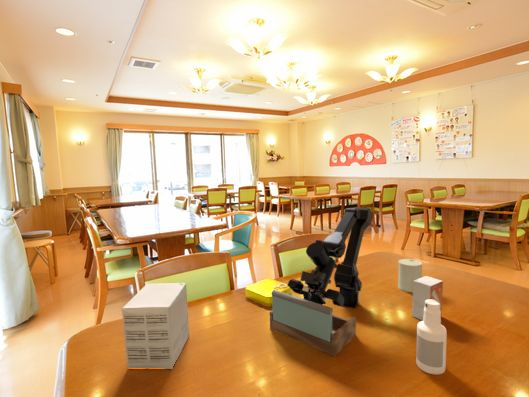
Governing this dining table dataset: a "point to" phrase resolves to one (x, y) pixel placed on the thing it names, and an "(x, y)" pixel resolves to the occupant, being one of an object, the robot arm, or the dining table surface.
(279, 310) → the panel
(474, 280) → the dining table surface
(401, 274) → the can
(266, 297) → the element tile
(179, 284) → the supplement box
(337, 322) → the open wooden crate
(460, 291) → the dining table surface
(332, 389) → the dining table surface
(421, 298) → the small box
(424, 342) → the spray bottle
